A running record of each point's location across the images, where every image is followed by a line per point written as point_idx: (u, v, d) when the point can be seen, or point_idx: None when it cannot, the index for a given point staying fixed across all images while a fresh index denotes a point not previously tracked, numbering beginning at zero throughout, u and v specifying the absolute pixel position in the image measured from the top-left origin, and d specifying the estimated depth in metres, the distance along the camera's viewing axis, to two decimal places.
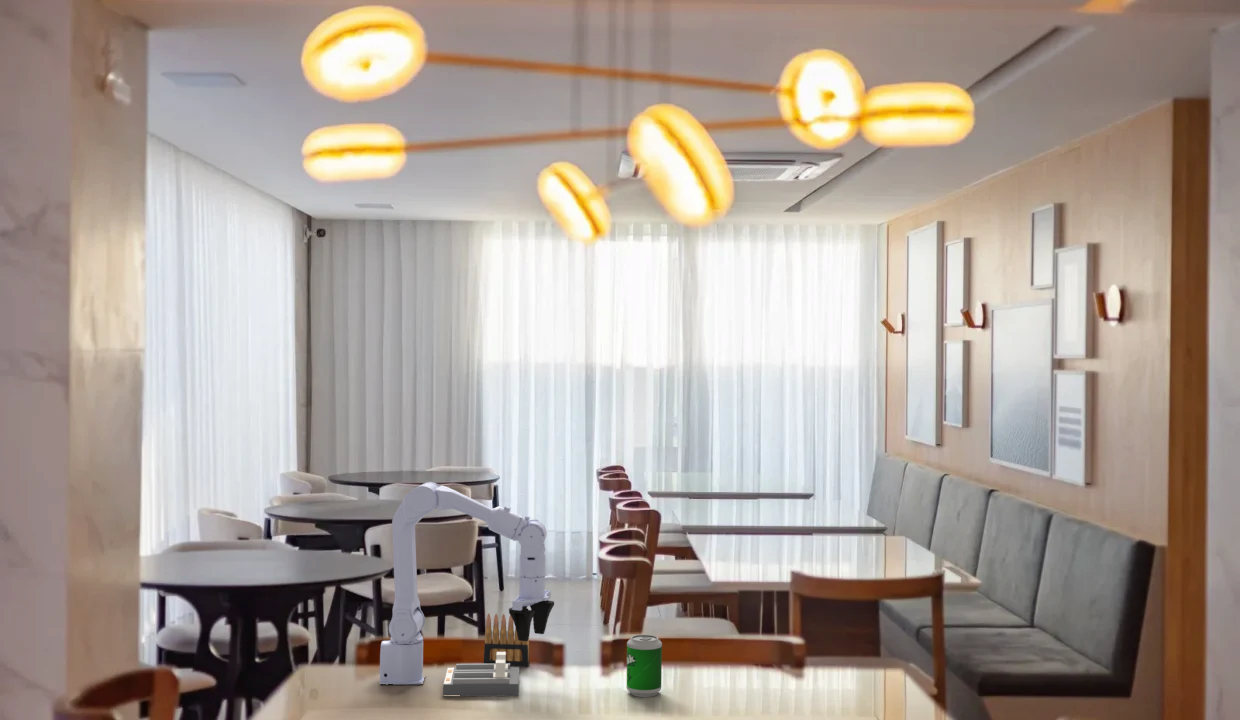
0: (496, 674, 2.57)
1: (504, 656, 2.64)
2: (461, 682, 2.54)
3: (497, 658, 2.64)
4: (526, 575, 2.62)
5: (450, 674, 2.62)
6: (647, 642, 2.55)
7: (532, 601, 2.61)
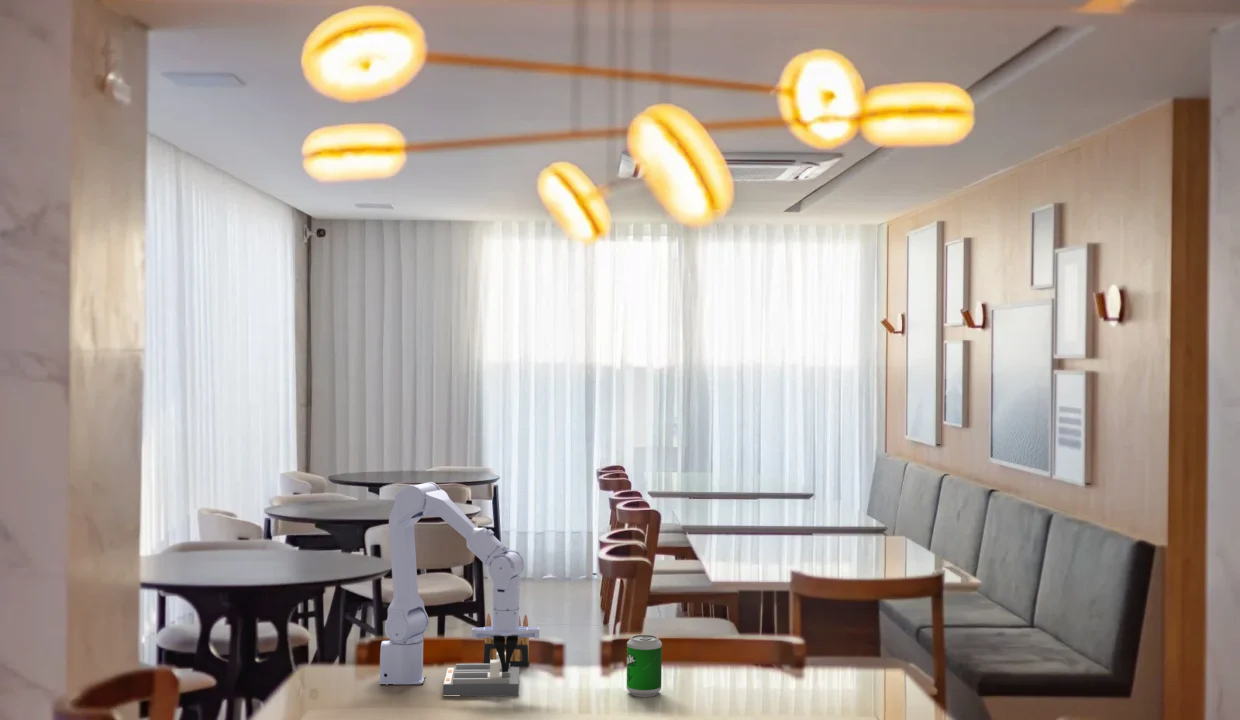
0: (490, 674, 2.56)
1: None
2: (461, 682, 2.54)
3: (497, 658, 2.64)
4: (496, 607, 2.56)
5: (450, 674, 2.62)
6: (647, 642, 2.55)
7: (489, 632, 2.56)
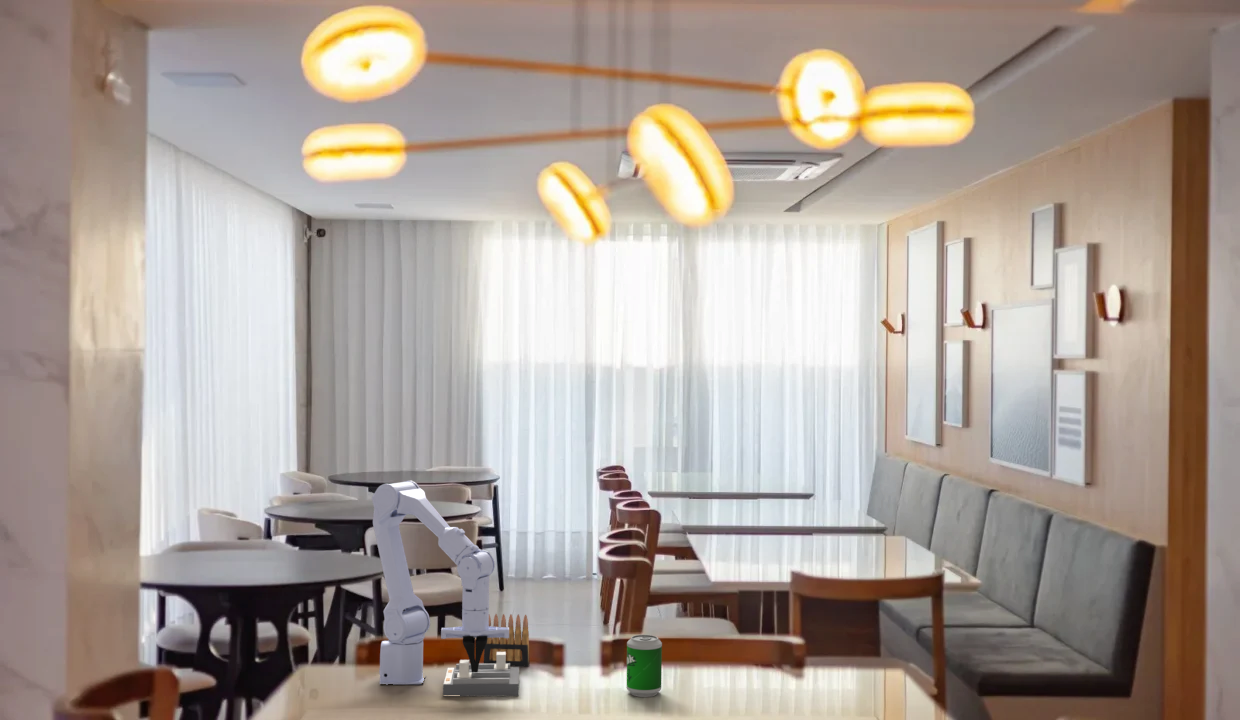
0: (460, 674, 2.56)
1: (504, 656, 2.64)
2: (461, 682, 2.54)
3: (497, 658, 2.64)
4: (464, 607, 2.56)
5: (450, 674, 2.62)
6: (647, 642, 2.55)
7: (458, 633, 2.55)
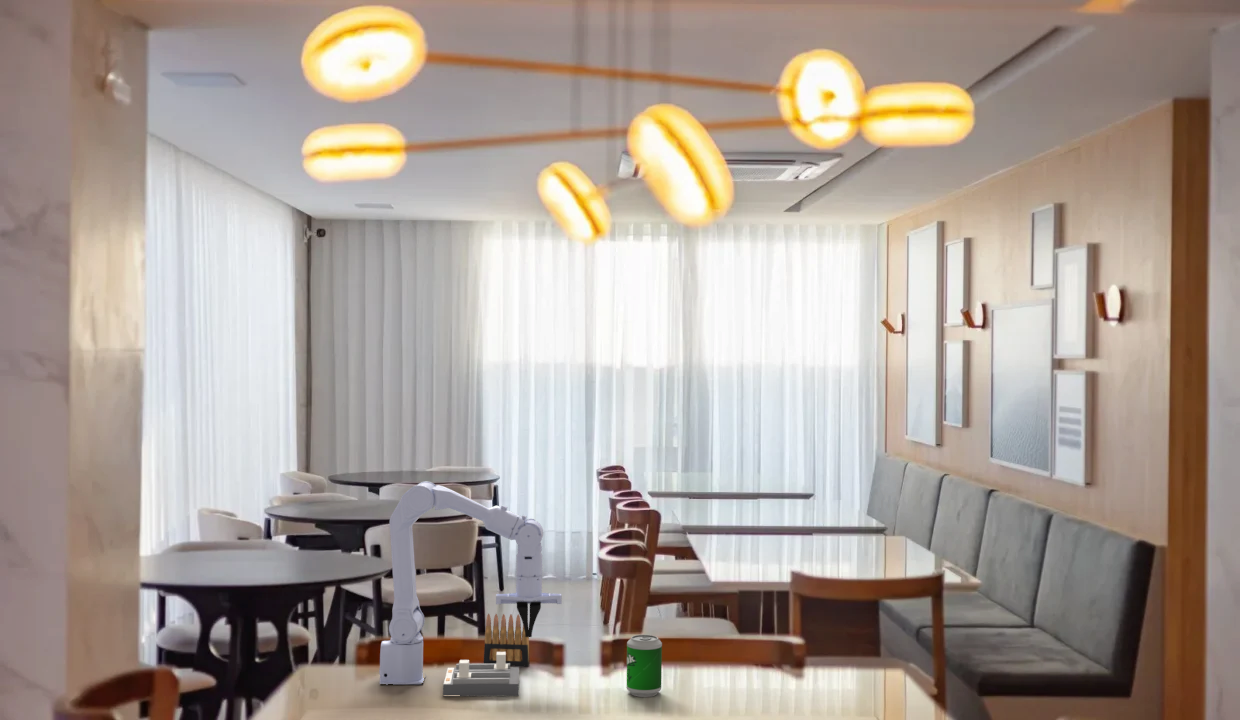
0: (460, 674, 2.56)
1: (504, 656, 2.64)
2: (461, 682, 2.54)
3: (497, 658, 2.64)
4: (523, 574, 2.63)
5: (450, 674, 2.62)
6: (647, 642, 2.55)
7: (513, 598, 2.63)
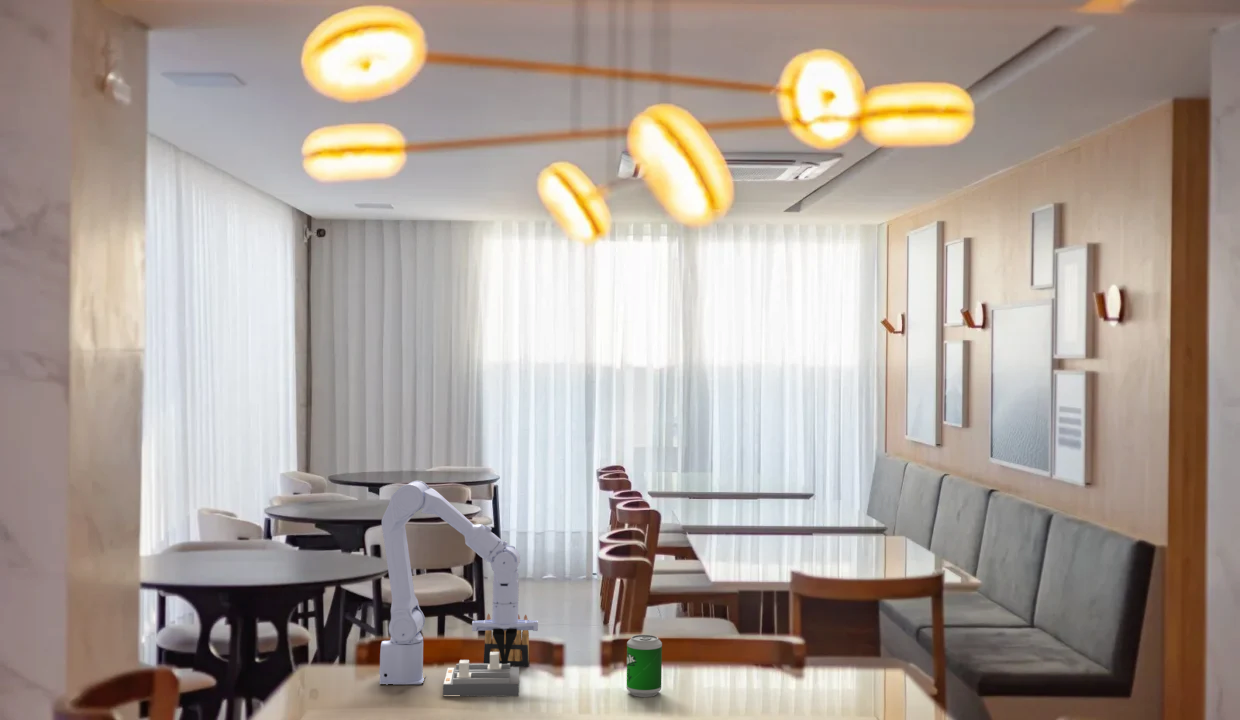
0: (460, 674, 2.56)
1: (497, 656, 2.64)
2: (461, 682, 2.54)
3: (490, 658, 2.63)
4: (499, 601, 2.62)
5: (450, 674, 2.62)
6: (647, 642, 2.55)
7: (489, 625, 2.63)
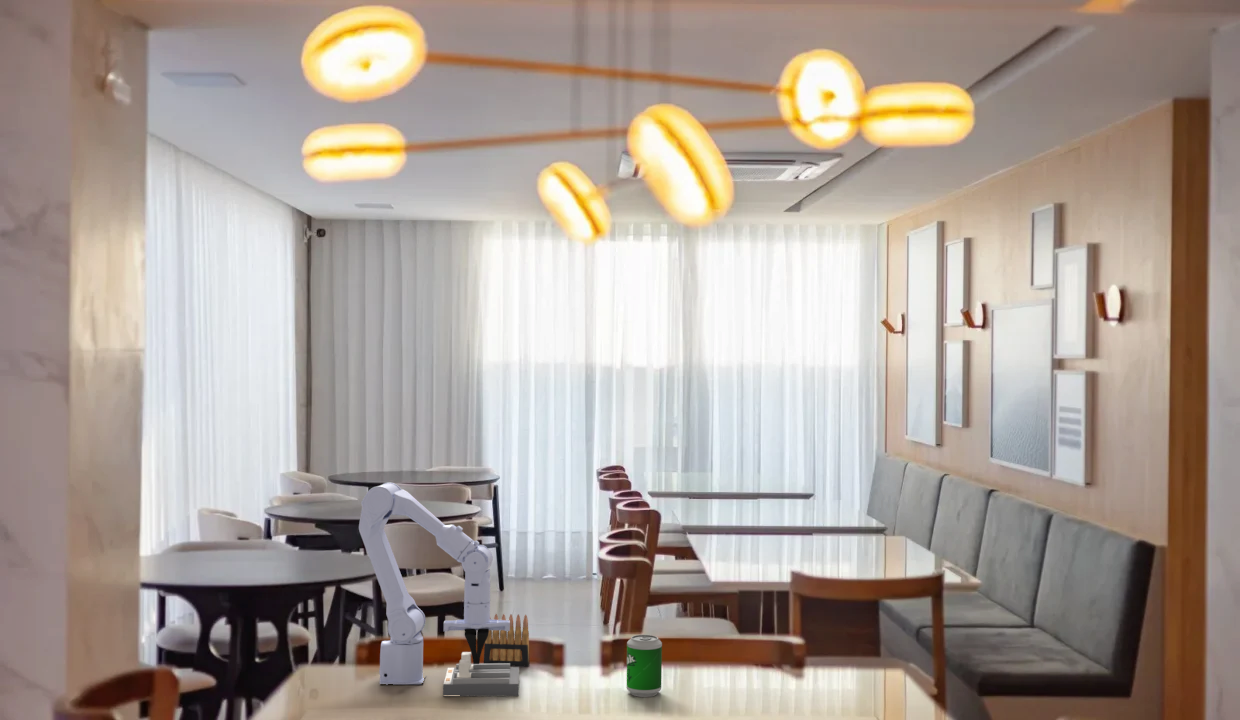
0: (460, 674, 2.56)
1: (469, 656, 2.63)
2: (461, 682, 2.54)
3: (462, 658, 2.63)
4: (470, 601, 2.62)
5: (450, 674, 2.62)
6: (647, 642, 2.55)
7: (460, 625, 2.62)
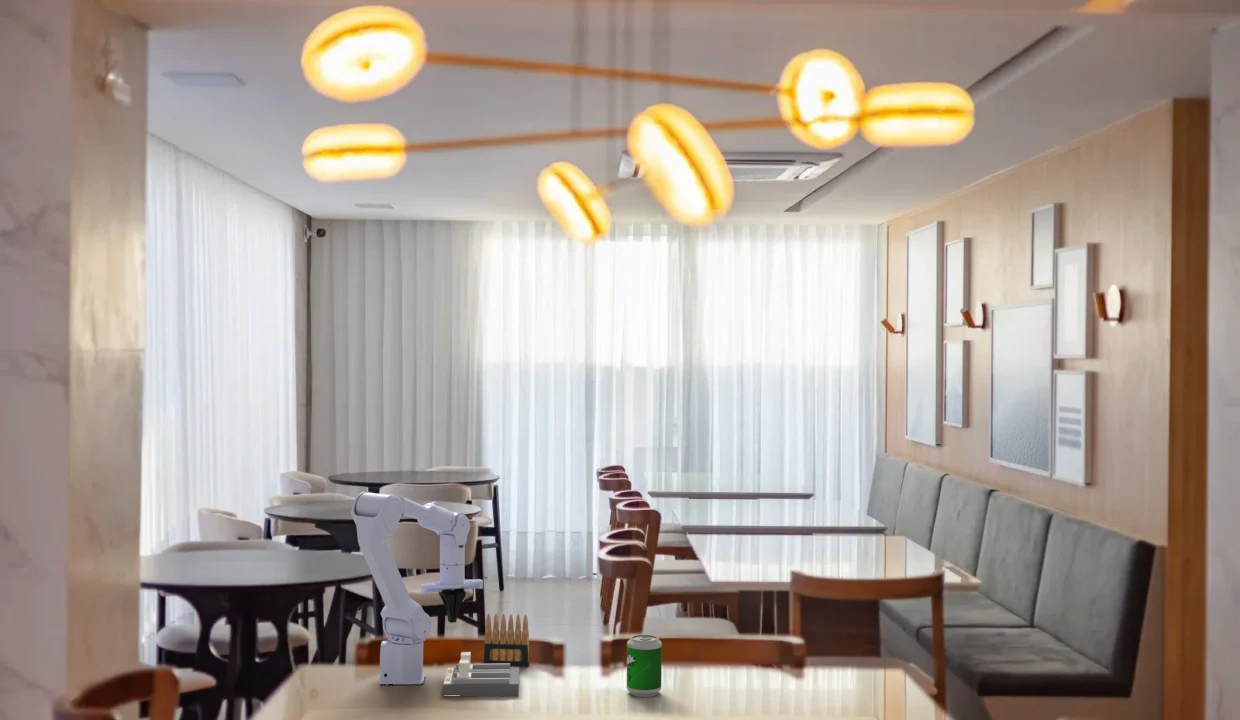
0: (460, 674, 2.56)
1: (469, 656, 2.63)
2: (461, 682, 2.54)
3: (462, 658, 2.63)
4: (458, 563, 2.76)
5: (450, 674, 2.62)
6: (647, 642, 2.55)
7: (440, 587, 2.75)
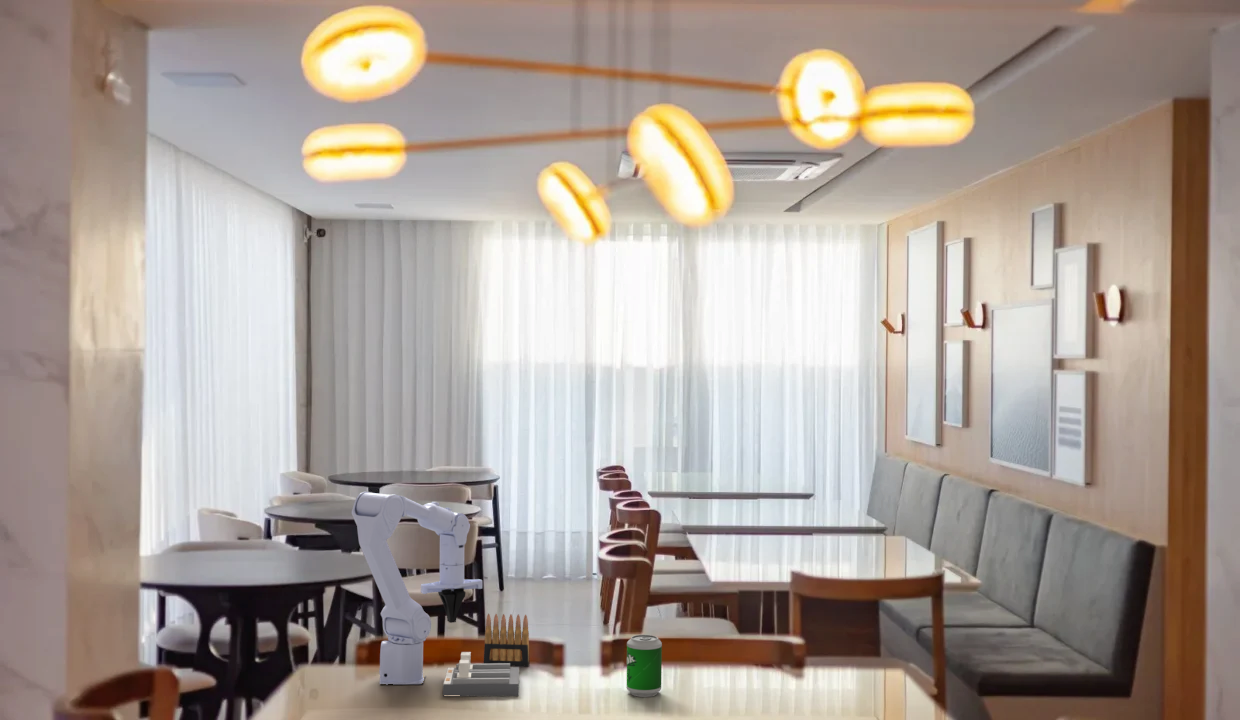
0: (460, 674, 2.56)
1: (469, 656, 2.63)
2: (461, 682, 2.54)
3: (462, 658, 2.63)
4: (457, 563, 2.76)
5: (450, 674, 2.62)
6: (647, 642, 2.55)
7: (440, 587, 2.75)
